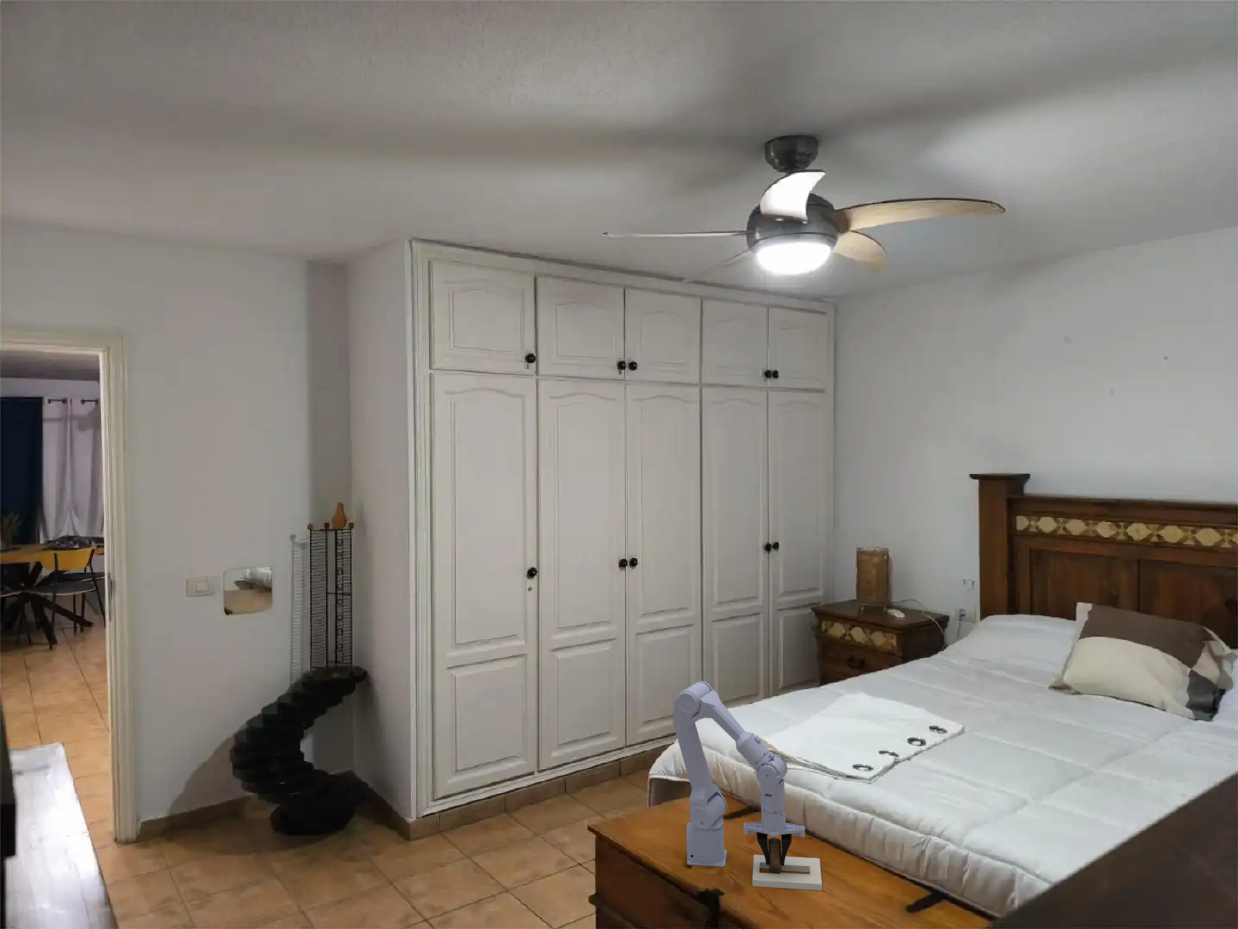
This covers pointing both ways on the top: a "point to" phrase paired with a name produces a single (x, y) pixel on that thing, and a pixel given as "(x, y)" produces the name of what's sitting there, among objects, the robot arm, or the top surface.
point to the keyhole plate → (789, 874)
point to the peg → (774, 855)
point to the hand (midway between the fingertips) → (775, 863)
